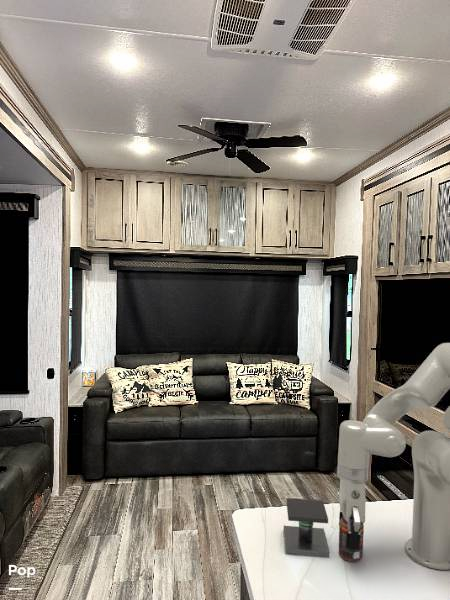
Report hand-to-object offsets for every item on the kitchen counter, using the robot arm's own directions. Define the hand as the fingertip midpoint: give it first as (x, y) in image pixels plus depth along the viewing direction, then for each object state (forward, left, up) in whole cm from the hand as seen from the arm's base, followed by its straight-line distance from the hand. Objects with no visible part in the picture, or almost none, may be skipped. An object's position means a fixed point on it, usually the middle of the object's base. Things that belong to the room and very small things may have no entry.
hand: (348, 537), depth 112 cm
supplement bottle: (-1, 0, -5) cm, 5 cm away
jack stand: (+10, -4, -5) cm, 12 cm away
